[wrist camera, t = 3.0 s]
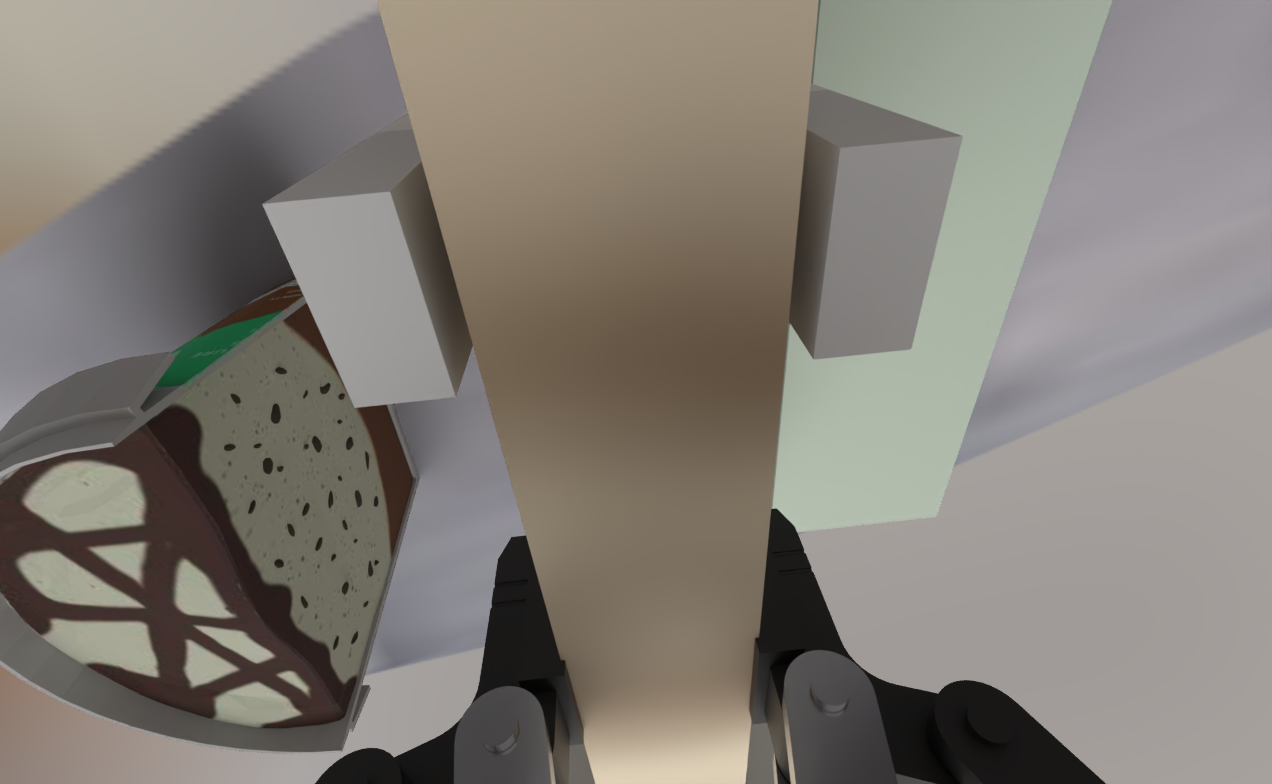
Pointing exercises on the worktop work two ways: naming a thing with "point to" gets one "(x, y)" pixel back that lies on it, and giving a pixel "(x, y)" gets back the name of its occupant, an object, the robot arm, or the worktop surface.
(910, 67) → the mat
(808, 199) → the rack
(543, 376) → the rail
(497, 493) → the worktop surface
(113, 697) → the food container
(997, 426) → the worktop surface
